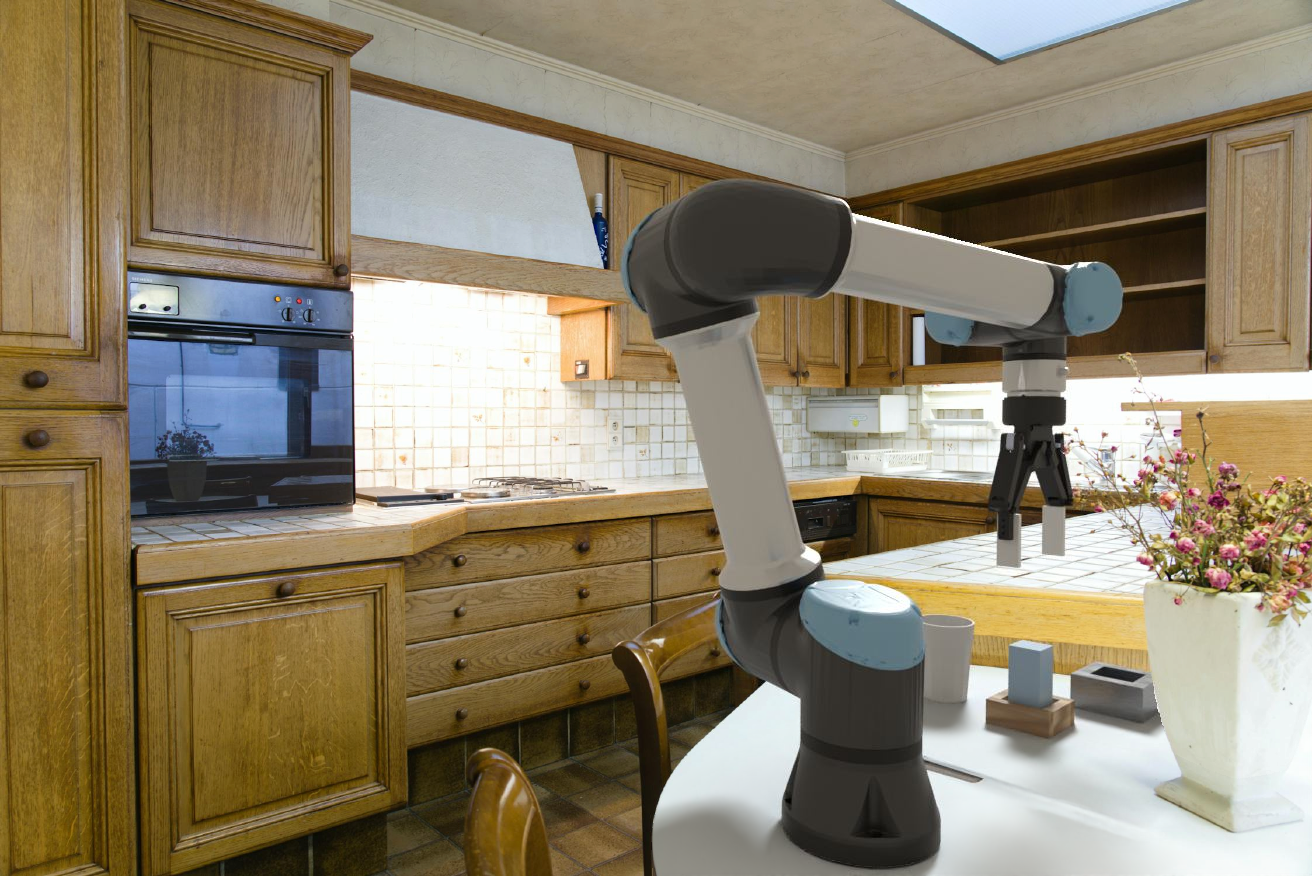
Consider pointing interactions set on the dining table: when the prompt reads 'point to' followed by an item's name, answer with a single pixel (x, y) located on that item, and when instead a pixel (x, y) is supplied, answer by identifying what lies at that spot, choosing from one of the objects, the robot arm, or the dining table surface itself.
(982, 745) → the dining table surface
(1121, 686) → the port
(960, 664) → the cup
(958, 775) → the smartphone
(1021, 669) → the plug
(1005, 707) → the tan square frame
